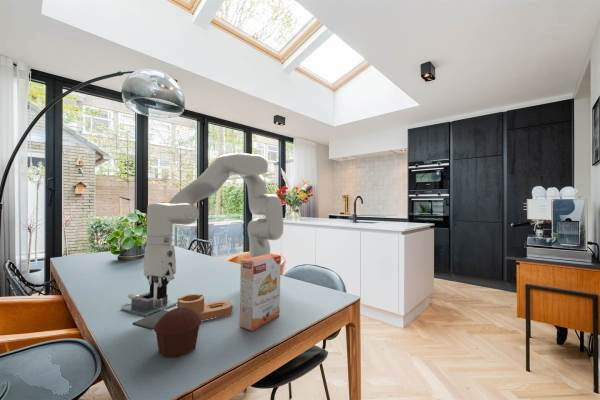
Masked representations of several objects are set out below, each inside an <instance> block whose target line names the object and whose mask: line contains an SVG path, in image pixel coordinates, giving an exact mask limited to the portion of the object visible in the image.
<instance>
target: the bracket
mask: <svg viewBox="0 0 600 400" xmlns="http://www.w3.org/2000/svg"><path fill="white" fill-rule="evenodd" d="M176 302H177V305H176V308H181V307H185V308H189V309H192V310H194V311H195V312H196V313H197V314H198V315H199V316H200V318H201V320H205V321H207V320H206V319H209V320H212V319H211V318H214V319H216V318H215V317H218V318H222V317H221V316H223V317H226V316H225V315H227V316H229V315H231V314H232V313H233V302H232V301H230V300H216V301H211V302H205V295H203V294H201V293H189V294H185V295H184V294H183V295H181V296H180V297H178V298H177V301H176ZM231 312H232V313H231ZM230 313H231V314H230ZM228 314H229V315H228Z"/></svg>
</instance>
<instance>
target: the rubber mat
mask: <svg viewBox="0 0 600 400" xmlns="http://www.w3.org/2000/svg"><path fill="white" fill-rule="evenodd" d="M169 311H170V310H169ZM169 311H168V310H162V311H160V312H157V313H155V314H152V315H150V316H148V317H146V316H144V317H142V318H141V319H138V320H135V321H134V322H132V325H136V326H139V327H142V328H145V327H146V328H145V329H149V330H154V327H155V325H156V324H157V322H158V321H159V320H160V318H161V317H162V316H163V315H165V314H166V313H167V312H169Z"/></svg>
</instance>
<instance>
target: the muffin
mask: <svg viewBox="0 0 600 400" xmlns="http://www.w3.org/2000/svg"><path fill="white" fill-rule="evenodd" d="M202 322H203V321H201V318H200V316H199V315H198V314H197V313H196V312H195V311H194V310H192V309H189V308H185V307H181V308H177V307H175V308H173V309H171V310H169V312H167V313H166V314H165V315H163V316H162V317H161V318H160V320H159V321H158V322H157V324H156V325H155V327H154V329H153V330H154V332H155V335H156V336H155V337H156V340H157V341H156V342H157V348H158V354H159V355H160V356H162V357H163V358H166V359H168V358H169V359H170V358H172V359H173V358H175V359H177V358H180V357H183V356H187V355H189V354H190V353H191V352H193V351H194V350H195V349H196V347H197V341H198V336H199V329H200V325H201V324H202Z"/></svg>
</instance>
